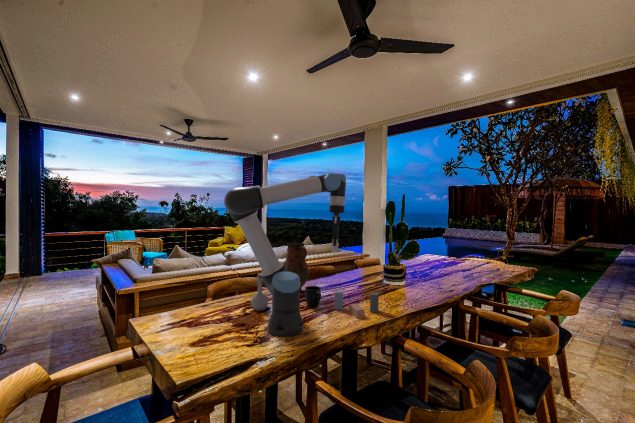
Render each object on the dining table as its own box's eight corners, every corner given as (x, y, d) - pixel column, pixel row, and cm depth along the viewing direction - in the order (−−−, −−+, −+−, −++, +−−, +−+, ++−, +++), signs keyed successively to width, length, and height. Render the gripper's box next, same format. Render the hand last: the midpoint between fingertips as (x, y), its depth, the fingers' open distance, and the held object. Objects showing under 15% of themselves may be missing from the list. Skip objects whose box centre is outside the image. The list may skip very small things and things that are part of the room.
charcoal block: (378, 312, 149) (378, 295, 149) (370, 312, 149) (370, 294, 149) (377, 310, 153) (378, 292, 153) (369, 309, 153) (370, 292, 153)
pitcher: (300, 286, 194) (301, 240, 193) (316, 295, 176) (317, 244, 175) (276, 289, 185) (277, 242, 185) (291, 299, 167) (292, 246, 167)
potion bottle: (271, 308, 152) (272, 273, 152) (257, 312, 146) (257, 276, 145) (261, 304, 158) (261, 270, 158) (247, 308, 152) (247, 273, 151)
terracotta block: (355, 311, 151) (364, 317, 142) (348, 312, 150) (356, 318, 141) (356, 303, 151) (364, 309, 142) (348, 304, 149) (356, 310, 141)
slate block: (342, 310, 151) (342, 292, 151) (334, 309, 152) (335, 292, 152) (342, 307, 155) (343, 290, 155) (335, 307, 156) (335, 290, 156)
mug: (312, 311, 148) (312, 292, 148) (302, 304, 159) (302, 286, 159) (326, 309, 152) (326, 290, 152) (315, 302, 163) (316, 285, 163)
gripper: (344, 205, 141) (341, 254, 141) (345, 205, 154) (342, 251, 154) (328, 204, 142) (325, 253, 142) (330, 205, 155) (328, 250, 155)
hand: (334, 252), depth 148 cm, fingers closed
